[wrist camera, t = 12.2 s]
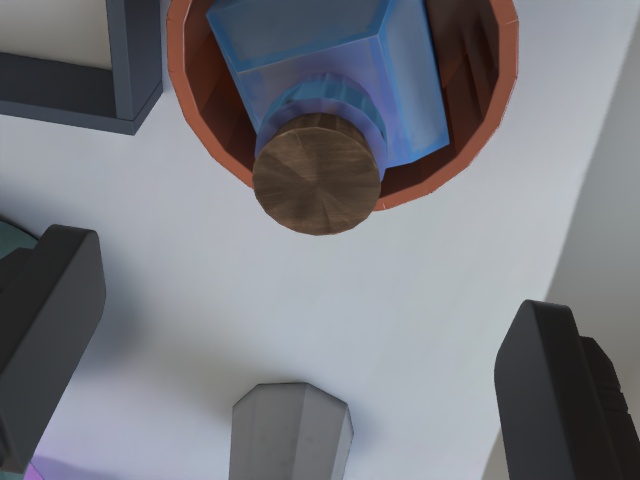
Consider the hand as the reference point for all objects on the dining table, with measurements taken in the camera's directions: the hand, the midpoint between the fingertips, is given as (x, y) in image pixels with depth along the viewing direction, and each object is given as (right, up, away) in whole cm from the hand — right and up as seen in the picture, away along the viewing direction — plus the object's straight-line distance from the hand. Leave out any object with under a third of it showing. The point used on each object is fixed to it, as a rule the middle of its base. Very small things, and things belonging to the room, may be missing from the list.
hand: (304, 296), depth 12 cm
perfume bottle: (+1, +10, +13) cm, 16 cm away
